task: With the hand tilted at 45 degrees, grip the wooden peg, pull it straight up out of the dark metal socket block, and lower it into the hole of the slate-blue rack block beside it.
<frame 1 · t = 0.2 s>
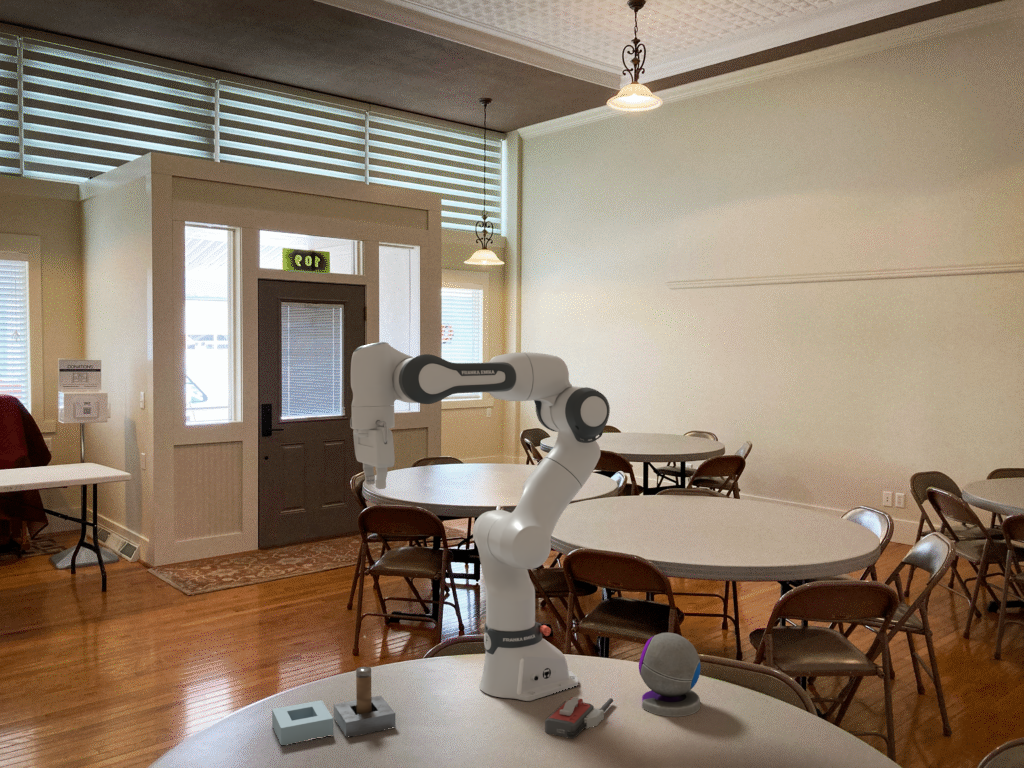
hand: (375, 486, 171), 47 cm above the table, tool pointing down, fingers open, 8 cm apart
webcam: (669, 705, 175), on the table
socket block: (364, 723, 167), on the table
rack block: (302, 731, 163), on the table
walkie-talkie: (580, 722, 168), on the table
peg: (363, 696, 167), in the socket block
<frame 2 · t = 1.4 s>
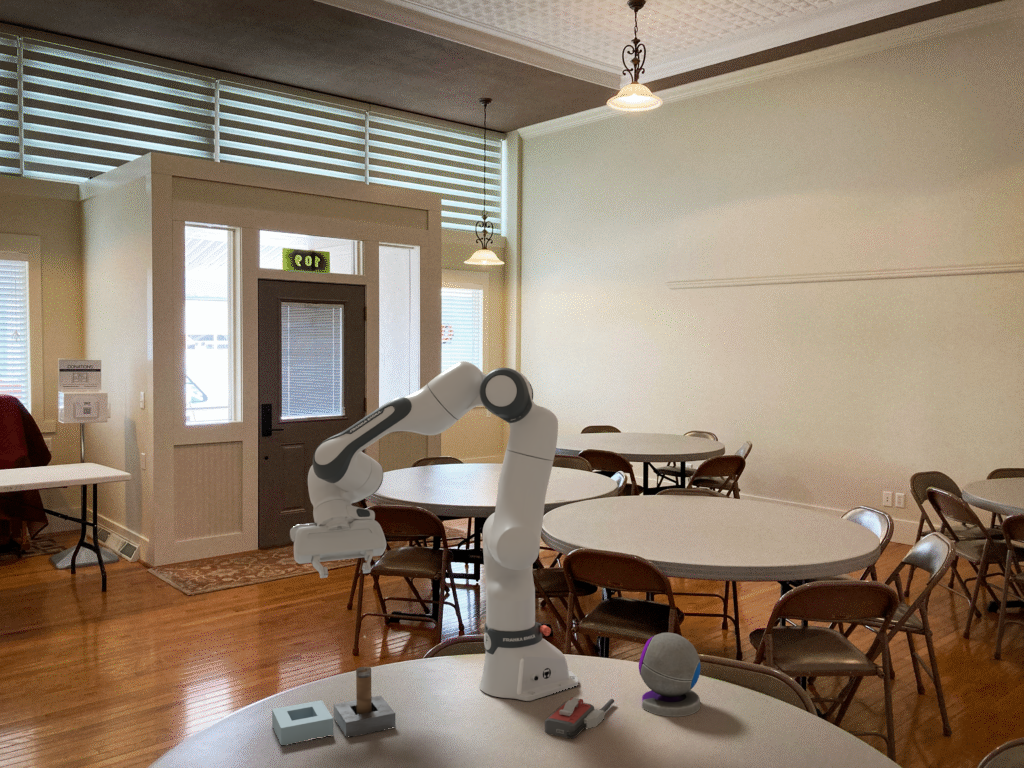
hand: (346, 574, 178), 27 cm above the table, tool tilted 45°, fingers open, 8 cm apart
nothing on the table moved.
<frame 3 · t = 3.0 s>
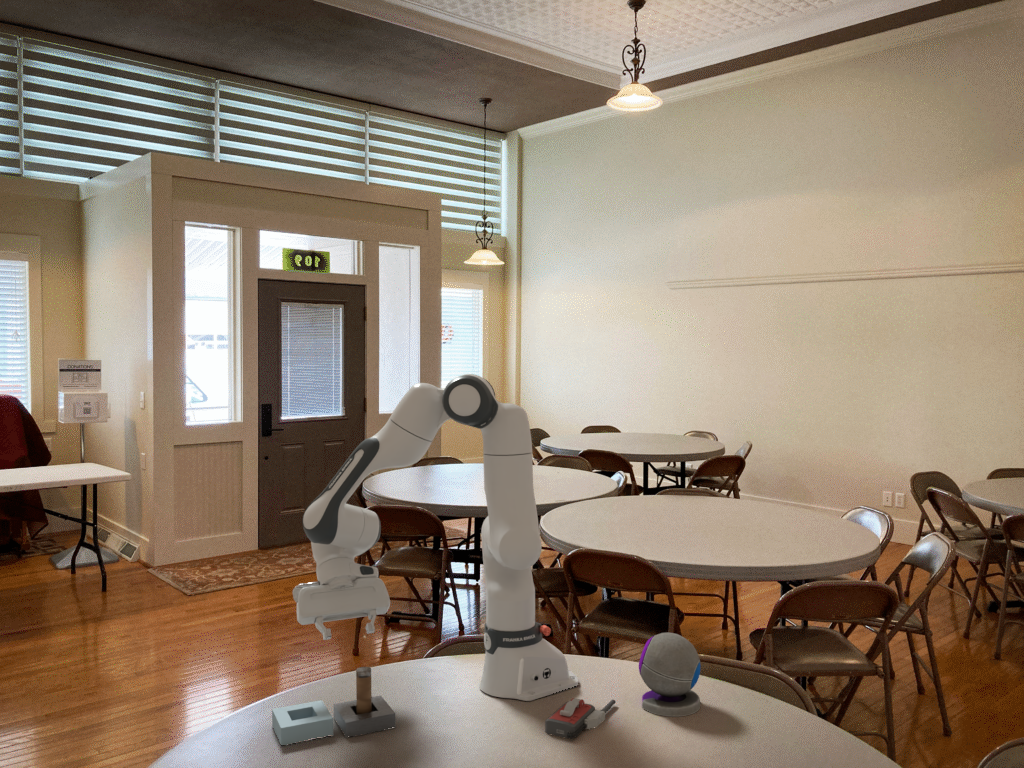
hand: (349, 635, 176), 15 cm above the table, tool tilted 45°, fingers open, 8 cm apart
nothing on the table moved.
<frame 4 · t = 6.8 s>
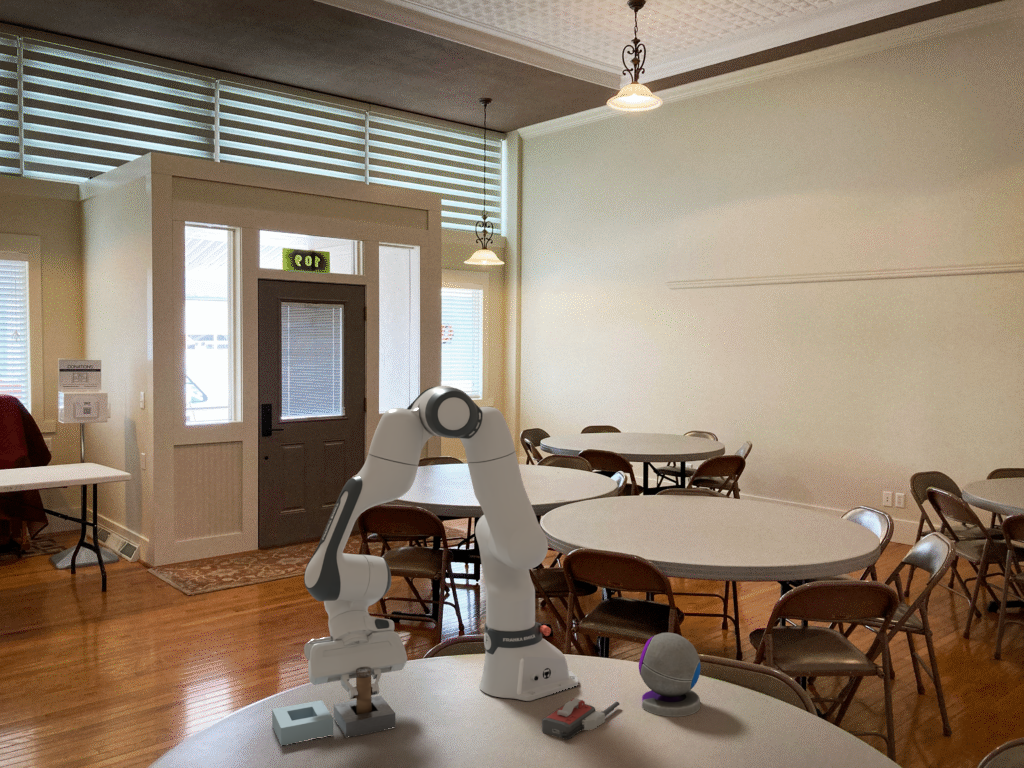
hand: (364, 695, 166), 6 cm above the table, tool tilted 45°, fingers closed on peg, 3 cm apart
peg: (363, 696, 167), in the socket block, touching gripper
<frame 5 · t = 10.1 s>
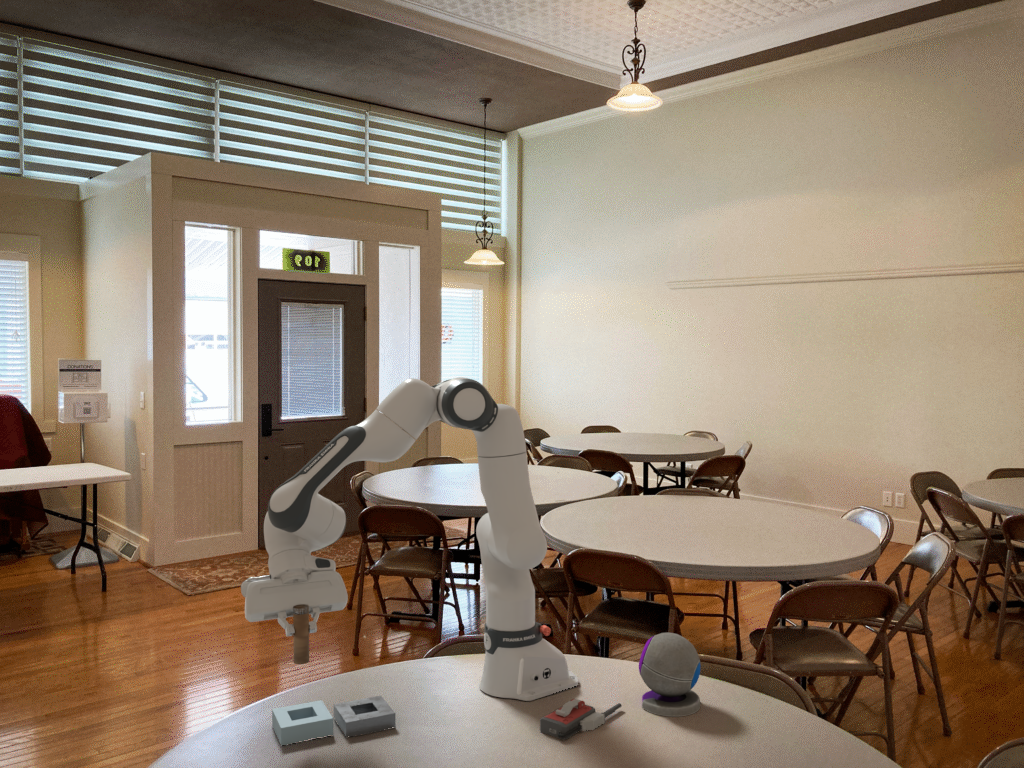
hand: (301, 633, 162), 20 cm above the table, tool tilted 45°, fingers closed on peg, 3 cm apart
peg: (301, 634, 163), point 19 cm above the table, touching gripper
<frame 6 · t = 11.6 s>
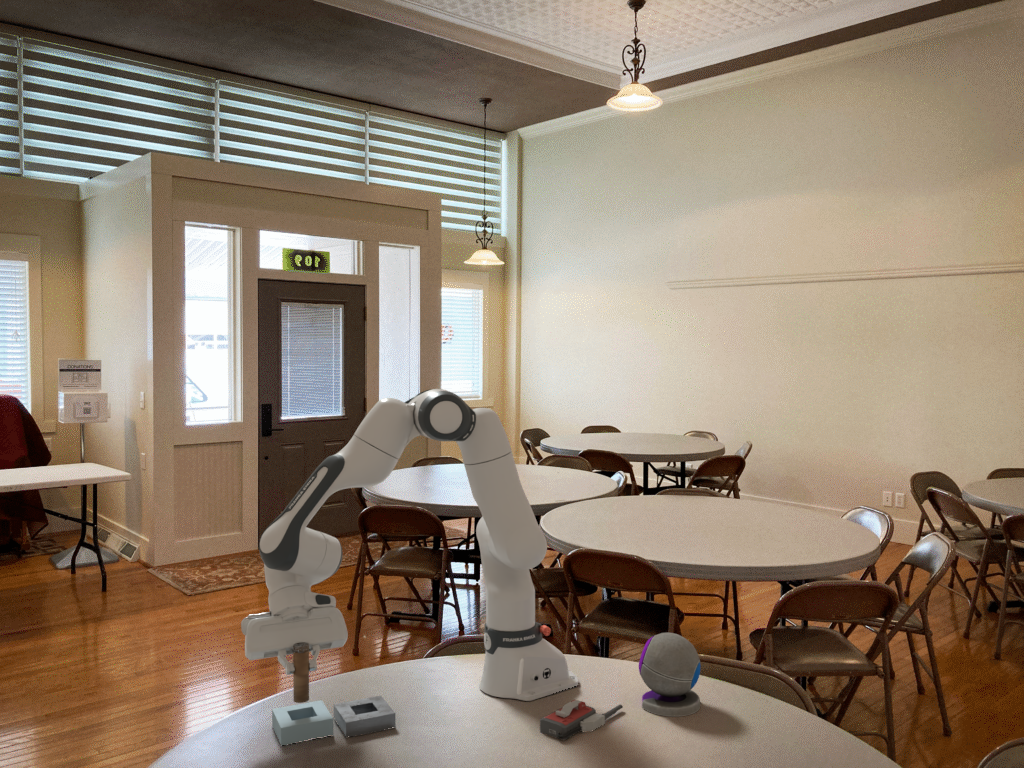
hand: (301, 671, 162), 12 cm above the table, tool tilted 45°, fingers closed on peg, 3 cm apart
peg: (301, 672, 163), point 12 cm above the table, touching gripper
when the fingers open (7 cm above the table, at t = 13.4 s): peg drops 1 cm, resting in rack block.
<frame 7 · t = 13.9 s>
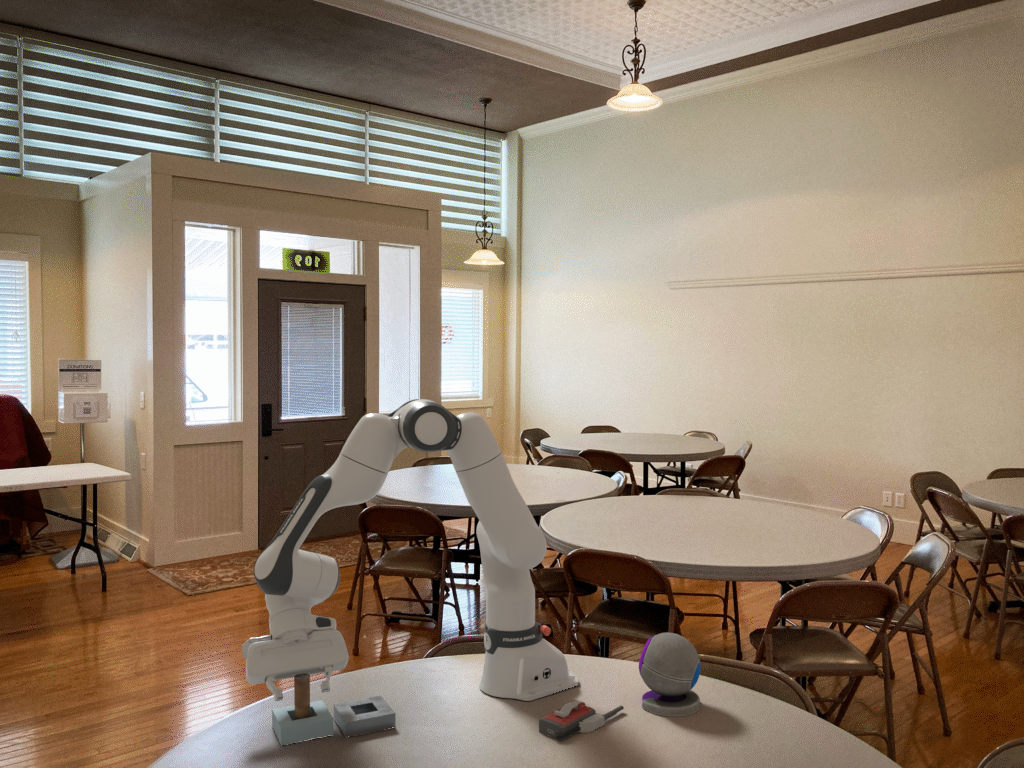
hand: (302, 695, 163), 7 cm above the table, tool tilted 45°, fingers open, 8 cm apart
peg: (302, 703, 163), in the rack block
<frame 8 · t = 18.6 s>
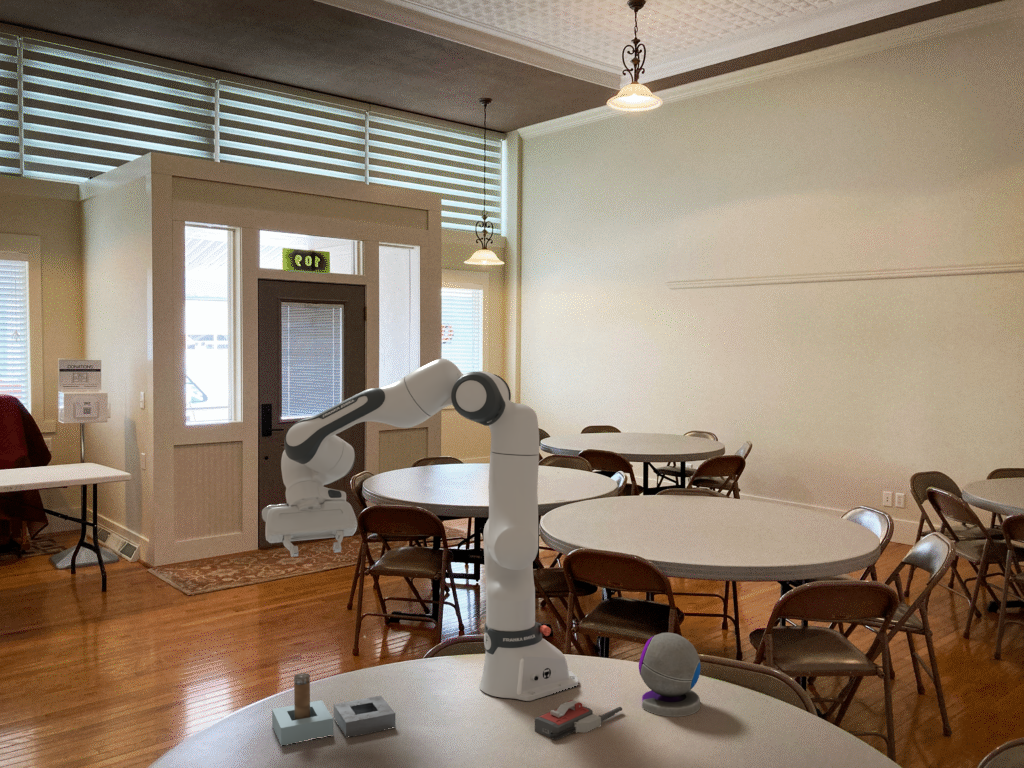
hand: (316, 553, 181), 31 cm above the table, tool tilted 45°, fingers open, 8 cm apart
at the end: peg 0.0 cm off-centre on the rack block, point 5.5 cm above the rack block's base; peg tilted 0°; the gripper is holding nothing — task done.
